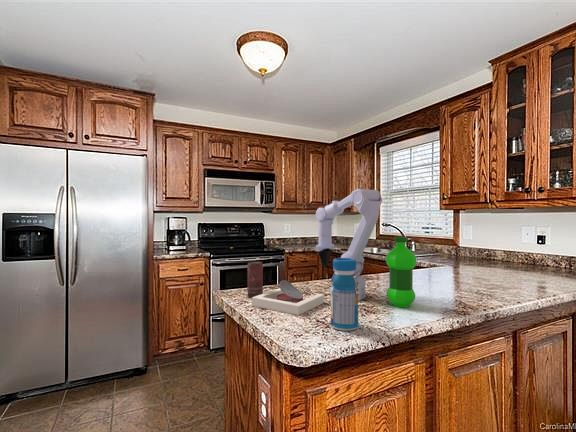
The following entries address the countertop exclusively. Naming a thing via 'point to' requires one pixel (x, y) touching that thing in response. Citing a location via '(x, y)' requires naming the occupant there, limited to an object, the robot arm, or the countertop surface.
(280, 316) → the countertop surface
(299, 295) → the canned food
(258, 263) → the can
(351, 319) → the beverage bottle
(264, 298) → the notched board
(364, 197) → the robot arm
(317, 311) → the countertop surface
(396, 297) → the plastic bottle
